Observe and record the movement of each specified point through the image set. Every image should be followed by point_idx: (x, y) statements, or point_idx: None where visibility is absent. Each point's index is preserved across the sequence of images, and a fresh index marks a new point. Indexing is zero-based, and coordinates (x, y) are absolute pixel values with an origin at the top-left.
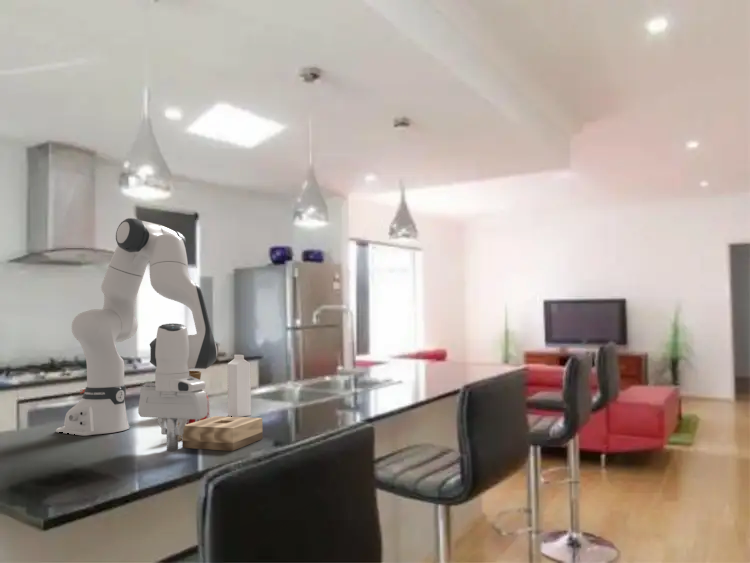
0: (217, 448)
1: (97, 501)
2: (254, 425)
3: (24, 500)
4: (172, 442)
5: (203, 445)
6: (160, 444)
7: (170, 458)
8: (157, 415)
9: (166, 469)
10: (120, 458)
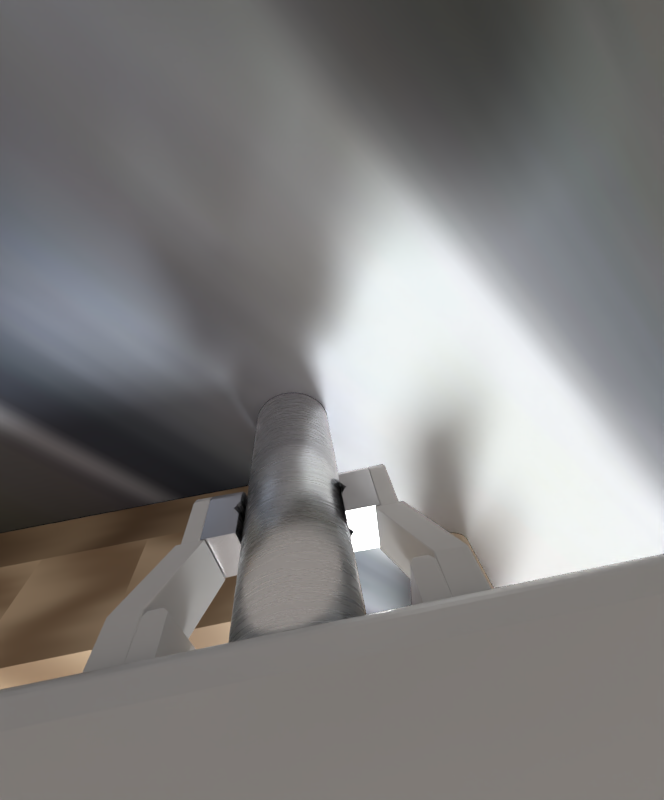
0: (42, 531)
1: None
2: None
3: None
4: (261, 437)
5: (133, 522)
6: (466, 477)
7: (44, 230)
8: (490, 621)
9: None
10: (473, 10)
